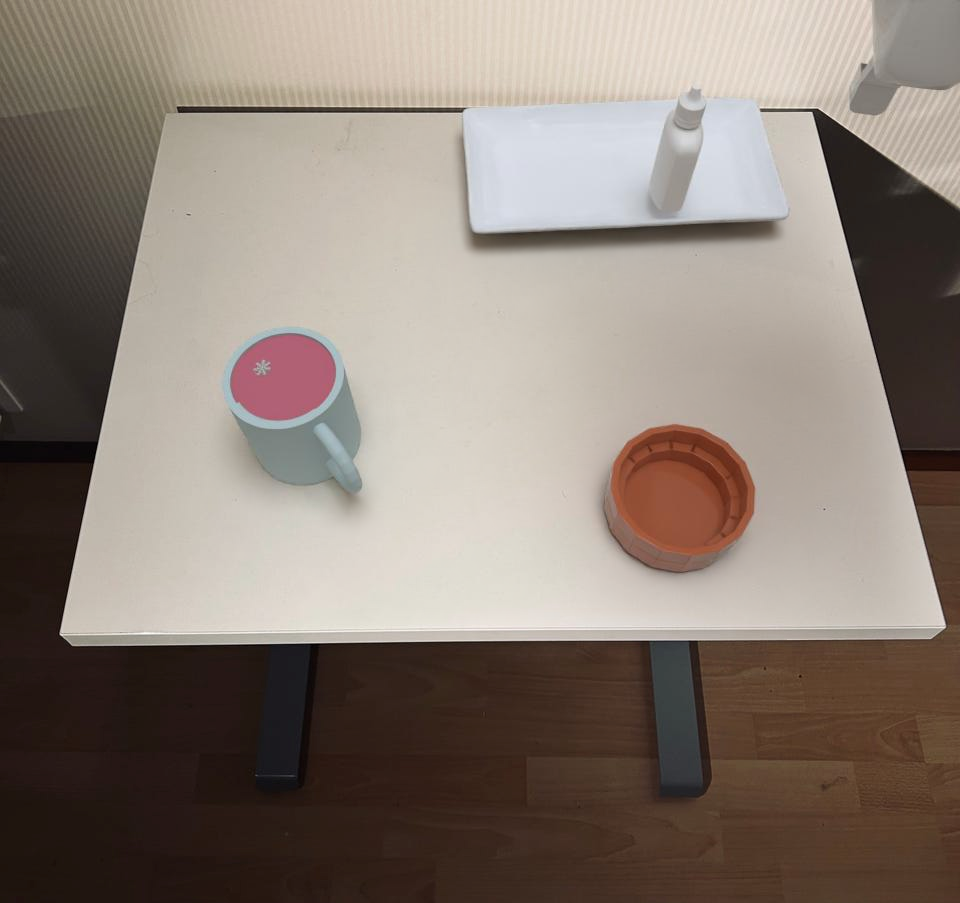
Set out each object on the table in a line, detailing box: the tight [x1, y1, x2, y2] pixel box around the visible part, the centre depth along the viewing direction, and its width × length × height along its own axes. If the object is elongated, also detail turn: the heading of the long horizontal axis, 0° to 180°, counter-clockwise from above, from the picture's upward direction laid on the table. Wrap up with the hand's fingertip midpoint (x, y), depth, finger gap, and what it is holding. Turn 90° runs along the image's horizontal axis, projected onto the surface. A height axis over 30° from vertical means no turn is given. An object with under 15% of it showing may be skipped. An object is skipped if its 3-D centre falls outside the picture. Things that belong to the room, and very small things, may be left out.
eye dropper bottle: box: [650, 83, 707, 211], centre depth 73 cm, size 4×6×12 cm
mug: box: [221, 326, 363, 494], centre depth 64 cm, size 14×9×10 cm
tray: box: [461, 96, 790, 235], centre depth 82 cm, size 17×32×4 cm, turn 93°
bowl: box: [603, 423, 756, 573], centre depth 65 cm, size 11×11×4 cm
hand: (862, 45), depth 43 cm, fingers open, 8 cm apart
